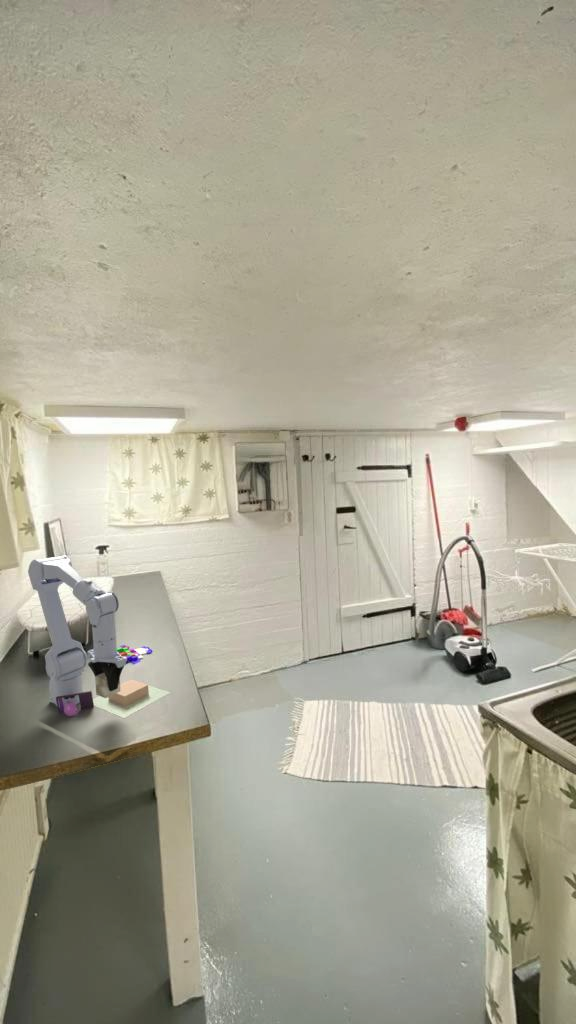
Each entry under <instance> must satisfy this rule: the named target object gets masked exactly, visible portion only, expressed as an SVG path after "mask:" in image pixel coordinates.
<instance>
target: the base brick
mask: <svg viewBox="0 0 576 1024" xmlns="http://www.w3.org/2000/svg"><path fill="white" fill-rule="evenodd" d="M147 695H149V691H148V684H147V683H144V682H140V681H138V680H135V679H128V680H127V681H124V682H123V683H120V692H118V693H116V694H114V695H112V696H110V697H108V699H109V701H112V702H114V703H117V704H120V705H122V706H125V707H126V706H128V705H130V704H132V703H134V702H136V701H137V700H139V699H141V698H143V697H145V696H147Z"/></svg>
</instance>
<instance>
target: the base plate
mask: <svg viewBox="0 0 576 1024" xmlns="http://www.w3.org/2000/svg"><path fill="white" fill-rule="evenodd" d="M147 685H148V684H147ZM148 691H149V695H147V696H145V697H143V698H141V699H139V700H137V701H136V702H134V703H132V704H130V705H128V706H126V707H125V706H122V705H120V704H117V703H114V702H112V701H109V699H108V698H104V697H101V696H99V695H97V696H96V697H94V698H93V703H94V707H96V708H99V709H101V710H103V711H105V712H108V713H111V714H113V715H115V716H118V717H119V718H122V719H125V718H127V717H129V716H131V715H132V714H134V713H136V712H138V711H140V710H142V709H144V708H145V707H147V706H149V705H151V704H152V703H155V702H156V701H158V700H160V699H162V698H164V697H166V696H167V695H169V694H171V692H170V691H167V690H163V689H160V688H157V687H155V686H152V685H148Z"/></svg>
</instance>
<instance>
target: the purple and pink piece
mask: <svg viewBox="0 0 576 1024" xmlns="http://www.w3.org/2000/svg"><path fill="white" fill-rule="evenodd" d="M76 695H79V700H80V703H79V704H80V710H83V709H89V708H94V707H95V706H94V703H93V699H94V698H93V693H92V690H89V691H83V692H81V693H75V694H69V695H63V696H57V697H56V702H57V706H56V707H57V710H58V714H59V713H63V712H64V714H65V715H66V716H67V717H76V716H77V715H78V713H80V711H79V709H78V708H77V706H78V704H77V705H75V703H74V702H67V703H65V704H63V698H64V699H69V697H70V698H74V697H75V696H76ZM58 701H59V703H58ZM59 704H60V707H59ZM64 706H65V707H64Z"/></svg>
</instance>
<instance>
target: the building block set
mask: <svg viewBox="0 0 576 1024" xmlns="http://www.w3.org/2000/svg"><path fill="white" fill-rule="evenodd" d="M117 652H118V653H119V654H120V655H121V656H122V657H123V658H125V662H126V663H130V662H131V664H132V665H136V664H138V663H142V661H141V660H142V659H144V656H145V655H151V654H152V653H153V649H152V648H150V647H149V646H140V648H138V647H137V648H136V649H134V648H130V646H129V645H126V644H122V645H119V646H118V647H117ZM143 655H144V656H143ZM89 659H91V658H89Z"/></svg>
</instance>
